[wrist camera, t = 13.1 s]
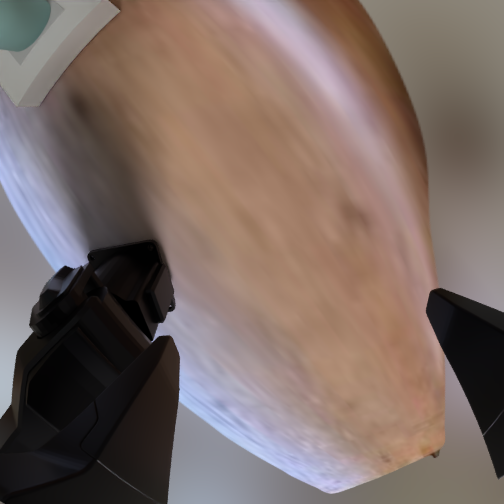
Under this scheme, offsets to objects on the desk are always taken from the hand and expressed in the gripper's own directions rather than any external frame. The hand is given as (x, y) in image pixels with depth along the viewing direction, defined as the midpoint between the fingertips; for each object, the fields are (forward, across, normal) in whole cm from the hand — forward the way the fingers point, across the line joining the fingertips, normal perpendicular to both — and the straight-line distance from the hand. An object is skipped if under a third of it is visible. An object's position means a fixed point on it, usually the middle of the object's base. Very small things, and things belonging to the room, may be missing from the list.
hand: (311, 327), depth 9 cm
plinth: (+13, +16, -20) cm, 28 cm away
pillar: (+10, +16, -19) cm, 27 cm away
